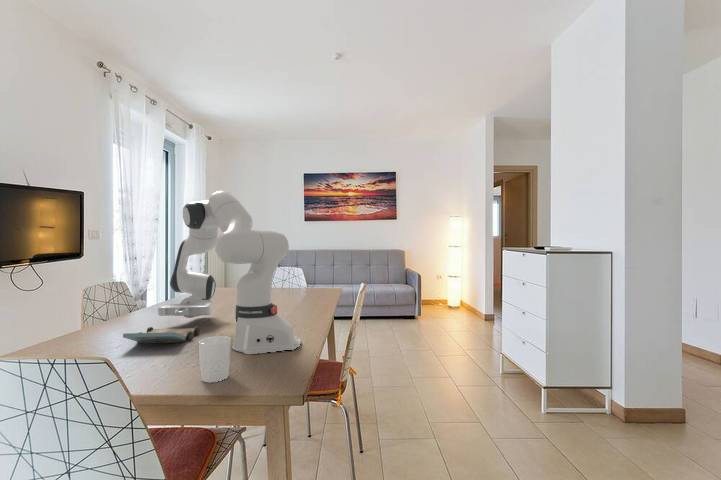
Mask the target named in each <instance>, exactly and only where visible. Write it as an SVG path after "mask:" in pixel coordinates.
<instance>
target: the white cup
mask: <svg viewBox="0 0 721 480" xmlns="http://www.w3.org/2000/svg"><path fill="white" fill-rule="evenodd" d="M197 342H198V359H199V369H200V378H201V379H200V380H201V382H203V383H209V384H210V383H211V384H212V382H213V383H219V382H223V381H225V380H227V379H228V377H230V365H231V364H230V363H231V348H232V346H231V345H232V338H231V336H227V335H213V336H209V337H208V336H206V337H204V338H201V339H199V340H198V341H197ZM224 379H225V380H224ZM222 380H223V381H222ZM218 381H219V382H218Z"/></svg>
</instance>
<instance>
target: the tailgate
mask: <svg viewBox="0 0 721 480" xmlns="http://www.w3.org/2000/svg"><path fill="white" fill-rule="evenodd" d="M122 338H124V339H127V340H131V341H135V342H136V343H138V342H139V341H174V340H185V339H186V337H185V336H183V335H181V334H178V333H176V332H165V333H147V332H142V333H140V332H137V333H136V332H134V333H133V332H131V333H127V332H126V333H123V335H122Z"/></svg>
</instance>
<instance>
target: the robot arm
mask: <svg viewBox="0 0 721 480" xmlns="http://www.w3.org/2000/svg"><path fill="white" fill-rule="evenodd" d="M182 219H183V222H184V224H185V226H186V227H187V228H189V229H188V230H189V231H188V237H187V238H186V239H183V240H182V241H181V243H180V245H179V247H178V251H177V255H176V259H175V263H174V268H173V272H172V275H171V277H170V282H169V286H170V288H171V289H172V290H173V291H174V293H180V294H181V293H182V294H183V293H184V294H189V296H187V297H185V298H183V299H182V300H181V301H180V302H179V303H171V304H170V303H168V304H164V305H160V306H157V315H158V316H159V317H164V316H165V317H169V316H170V317H171V316H173V317H174V316H175V317H178V316H179V317H181V316H182V317H184V318H186V319H192V318H193V319H194V318H197V317H200V316H202V317H203V316H210V315H212V313H213V300H212V298H213V297H214V295H215V292H216V285H217V284H216V280H215V278H214V277H213V275H212V274H207V273H199V272H196V271H190V270H188V269H187V266H188V261H189V257H190V256H194V255H202V254H206V253H208V252H210V251H212V250H213V249H214V248H215V253H216V255H217V257H218V259H219V260H220V261H221V262H222V263H227V264H234V265H243V264H245V265H247V264H250V267H249V269H248V270H247V273H245V274H244V275H243V276H241V277H240V278H239V280H238V281H237V282H236V283H237V284H236V302H237V303H236V305H235V309H234V310H235V311H234V312H235V313H234V314H235V315H234V316H235V322H236V324H235V325H236V327H235V334H234V339H233V342H232V346H231V348H232V350H233V351H236V352H240V353H243V354H245V355H257V354H258V353H259V354H267V352H271V353H277V352H276V351H282V352H284V351H283V350H292V351H294V350H293V349H295V348H297V347H299V346H300V347H301V345H300V344H302V342H301V341H302V340H301V338H299V337H298V336H295V332H294V331H295V330H294V328H293V326H292V324H291V323H290V322H288V321H287V320H286V319H284V318H283V317H281V316H280V315H279V314H278V305H277V304H275V303H272V283H273V279H274V274H275V272H276V270H277V268H278V266H279V264H280V263H281V261H282V260H284V259H285V258H286V257H287V255H288V252H289V247H290V246H289V241H288V239H287V237H286V236H285V234H283V233H280V232H277V231H272V230H254V229H253V230H252V227H253V218H252V216H251V215H250V214H249V212H248V211H247V210H246V208H245V207H244V205H242V203H241V201H239V200H238V199H237V198H236V197H235V196H234V195H232V194H230V192H228V191H225V190H218V191H216V192H214V193H212V194H211V195H210V196H209V198H208V199H205V200H200V201H196V200H195V201H192V202H191V201H190V202H188V203H186V204H185V205H184V206H183V208H182ZM218 229H220V231H221V232H222V233H221V234H219V236H218V233H219V230H218ZM300 347H299V348H300ZM297 349H298V348H297ZM259 354H258V355H259Z"/></svg>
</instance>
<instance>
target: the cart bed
mask: <svg viewBox="0 0 721 480" xmlns="http://www.w3.org/2000/svg"><path fill="white" fill-rule="evenodd" d="M165 332H176V333H178V334H181V335H183V336H185V337H186V339H185V340H174V341H139V342H137V344H154V343H155V344H156V343H159V344H160V343H186V342H188V341H192V340H193V337H195V336H196V335H200V333H201V326H200V325H195V326H194V327H185V328H181V327H180V328H154V327H153V326H148V327H147V329H146V333H165ZM139 333H143V332H139Z"/></svg>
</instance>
